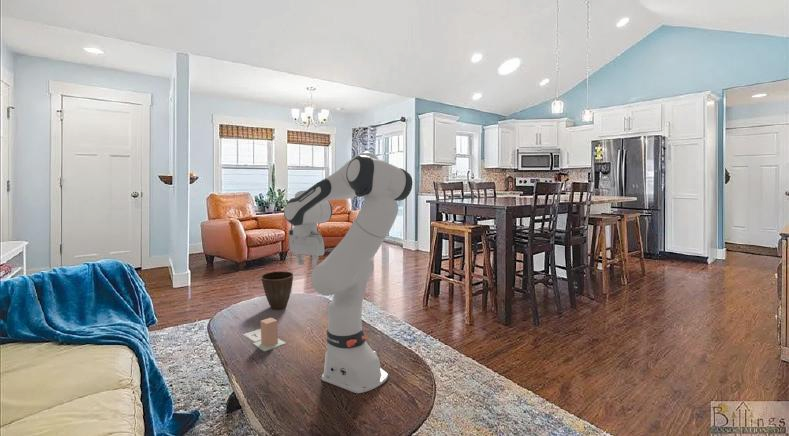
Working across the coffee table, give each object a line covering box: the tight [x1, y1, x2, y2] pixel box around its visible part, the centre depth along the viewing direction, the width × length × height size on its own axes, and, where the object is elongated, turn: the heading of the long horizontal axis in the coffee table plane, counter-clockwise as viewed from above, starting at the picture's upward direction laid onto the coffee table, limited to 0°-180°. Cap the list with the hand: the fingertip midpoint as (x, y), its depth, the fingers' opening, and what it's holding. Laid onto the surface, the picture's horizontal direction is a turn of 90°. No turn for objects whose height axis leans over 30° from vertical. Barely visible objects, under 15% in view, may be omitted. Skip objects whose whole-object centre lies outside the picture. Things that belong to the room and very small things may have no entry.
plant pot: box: [261, 271, 294, 310], centre depth 188 cm, size 15×15×16 cm
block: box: [260, 317, 279, 347], centre depth 147 cm, size 4×4×9 cm
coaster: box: [252, 338, 287, 352], centre depth 148 cm, size 9×9×1 cm
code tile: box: [242, 328, 261, 343], centre depth 157 cm, size 10×10×1 cm
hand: (307, 265), depth 155 cm, fingers open, 8 cm apart
